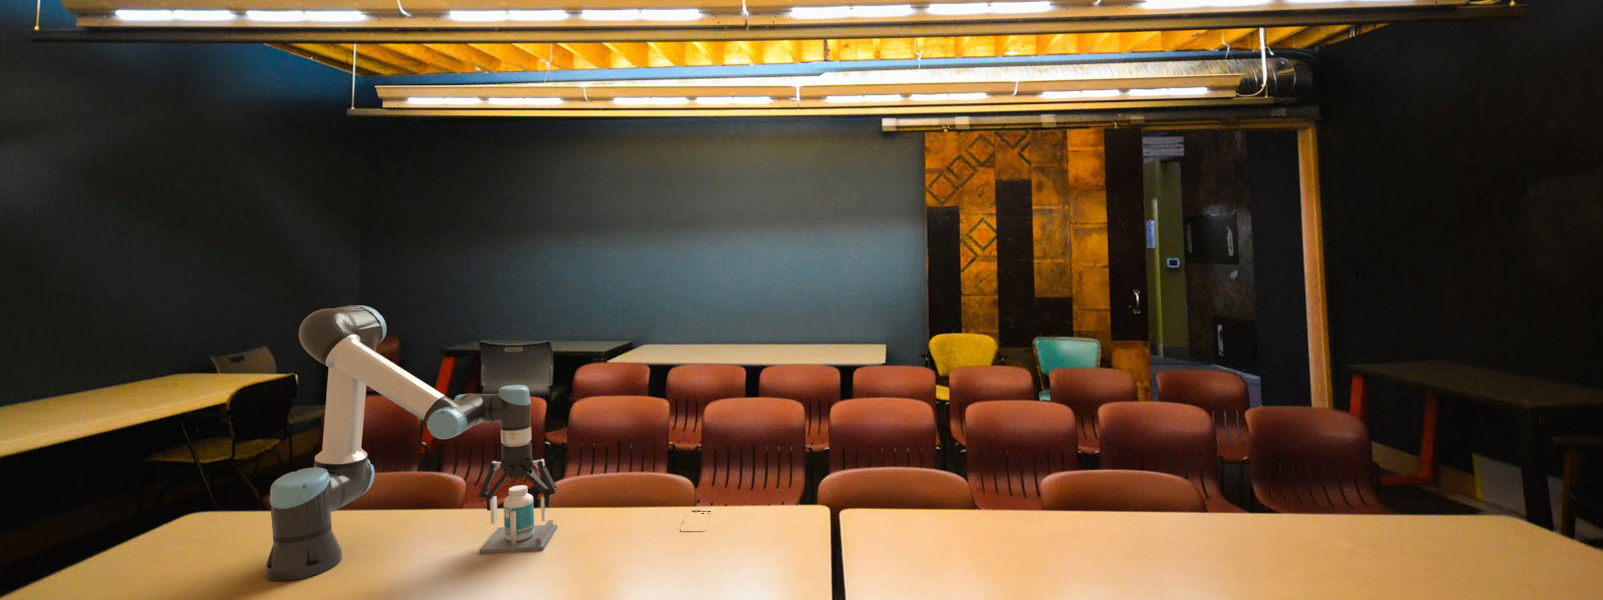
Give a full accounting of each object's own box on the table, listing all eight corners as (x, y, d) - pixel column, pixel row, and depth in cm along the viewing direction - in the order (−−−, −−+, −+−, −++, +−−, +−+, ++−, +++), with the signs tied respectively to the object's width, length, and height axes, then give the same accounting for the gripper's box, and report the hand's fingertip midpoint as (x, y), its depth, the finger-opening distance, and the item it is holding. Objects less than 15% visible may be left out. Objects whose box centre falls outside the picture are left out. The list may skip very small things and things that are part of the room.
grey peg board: (479, 553, 169) (478, 516, 168) (498, 530, 182) (497, 496, 182) (543, 550, 170) (542, 513, 170) (557, 527, 184) (556, 493, 183)
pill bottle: (539, 531, 180) (538, 483, 179) (525, 543, 172) (524, 493, 171) (514, 530, 180) (512, 482, 179) (498, 541, 173) (497, 492, 172)
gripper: (463, 448, 169) (466, 528, 171) (560, 445, 172) (562, 523, 174) (474, 440, 177) (477, 517, 178) (567, 437, 180) (569, 512, 181)
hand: (519, 520), depth 176 cm, fingers open, 12 cm apart
